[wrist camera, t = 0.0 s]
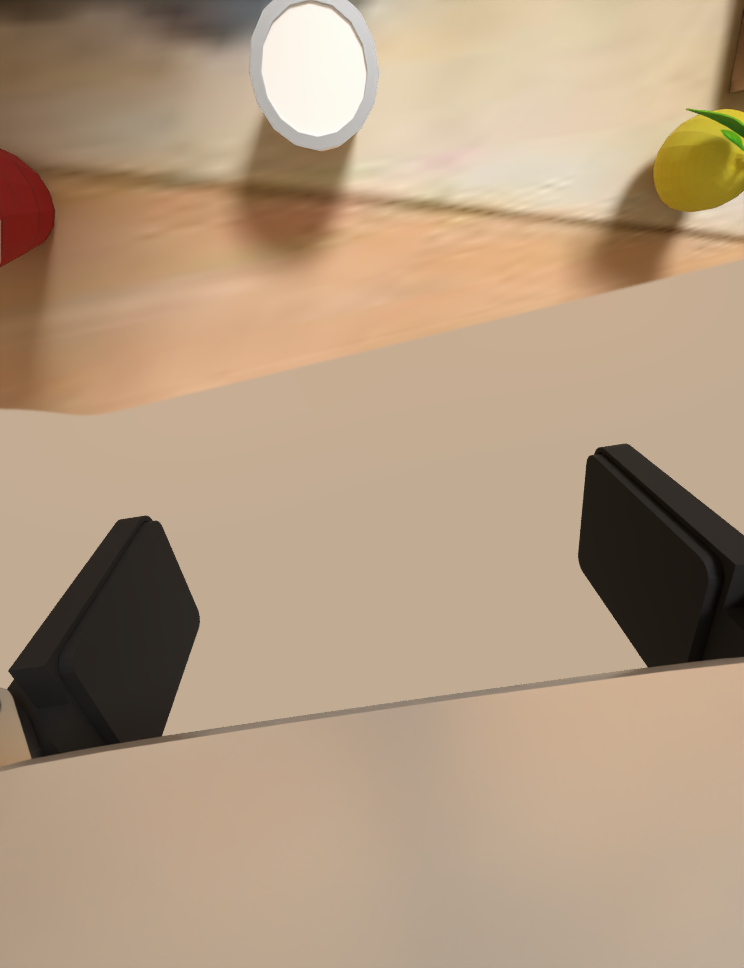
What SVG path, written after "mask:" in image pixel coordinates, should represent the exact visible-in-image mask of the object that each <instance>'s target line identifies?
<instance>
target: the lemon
mask: <svg viewBox="0 0 744 968" xmlns="http://www.w3.org/2000/svg"><path fill="white" fill-rule="evenodd" d="M686 110H689V111H692V112H695V113H697V114H699V115H697V116H695V117H693V118H691V119H689V120H688V121H686V122H684V123H682V124H681V125H680V126H679V127H678V128H677V129H676V130H675V131H674V132H673V133H672V134H671V135H670V136H669V137H668V138H667V139H666V141H665V142H664V144H663V145H662V147H661V148H660V150H659V152H658V154H657V157H656V160H655V163H654V171H653V179H654V184H655V189H656V191H657V193H658V195H659V197H660V199H661V201H663V202H664V203H665V204H666V205H667V206H668V207H670V208H672V209H675V210H680V211H686V212H695V211H701V210H707V209H712V208H716V207H718V206H720V205H723V204H724V203H726V202H728V201H730V200H732V199H734V198H736V197H737V196H738V195H739V194H740V193H742V192H743V191H744V112H742V111H738V110H733V109H721V110H715V111H705V110H694V109H686Z"/></svg>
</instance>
